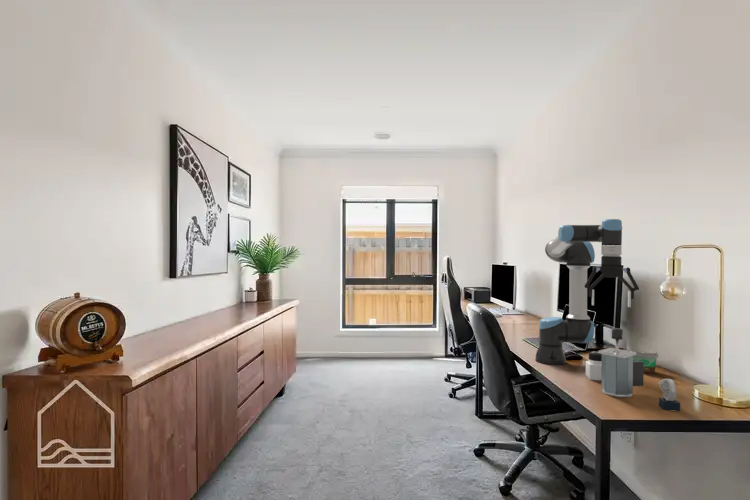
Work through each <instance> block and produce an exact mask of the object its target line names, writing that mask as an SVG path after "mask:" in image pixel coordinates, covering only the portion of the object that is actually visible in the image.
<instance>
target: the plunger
mask: <svg viewBox="0 0 750 500" xmlns="http://www.w3.org/2000/svg"><path fill="white" fill-rule="evenodd" d="M623 333H624V330H623V328H618V327H612V328H611V339H613V340H615V347H614V348H615V352H619V349H620V340H623V339H624V336H623V335H624V334H623Z"/></svg>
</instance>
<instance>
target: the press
mask: <svg viewBox="0 0 750 500" xmlns="http://www.w3.org/2000/svg"><path fill="white" fill-rule="evenodd" d="M615 348H616V347H608V348H603V349H600V350H598V351H597V352H598V353H600V354H602V381H601V386H600V387H601V392H602V393H603V394H605V395H607V396H609V397H614V398H622V399H627V398H632V397H633V392H634V391H633V388H634V387H643V386H644V374H645V373H644V362H642V361H633V355H636V352H637V351H635V352H632V351H633V350H632V351H631V350H626V349H620V348H619V352H615Z"/></svg>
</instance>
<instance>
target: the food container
mask: <svg viewBox="0 0 750 500" xmlns="http://www.w3.org/2000/svg"><path fill="white" fill-rule="evenodd" d="M630 351H632V352H636V355H633V361H642V362H644V373H643V374H646V375H647V374H648V375H649V374H651V375H653V374H655V372H656V365H657V358H659V353H658V351H656V352H649V351H648V352H647V351H634V350H632V349H630Z"/></svg>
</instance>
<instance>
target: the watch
mask: <svg viewBox="0 0 750 500" xmlns="http://www.w3.org/2000/svg"><path fill="white" fill-rule="evenodd" d="M658 385H659V386H660V387H659V388H660V390H661V391H662V396H663V398H662V397H658V407H659V408H660V409H662V410H663V411H670V410H676V411H675V412H681V402H680V401H679V400H677V395H678V393H677V385H676V382H675V380H674V379H673V378H672V379H671V378H662V379H661V380H660V381H659V382H658Z"/></svg>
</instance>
